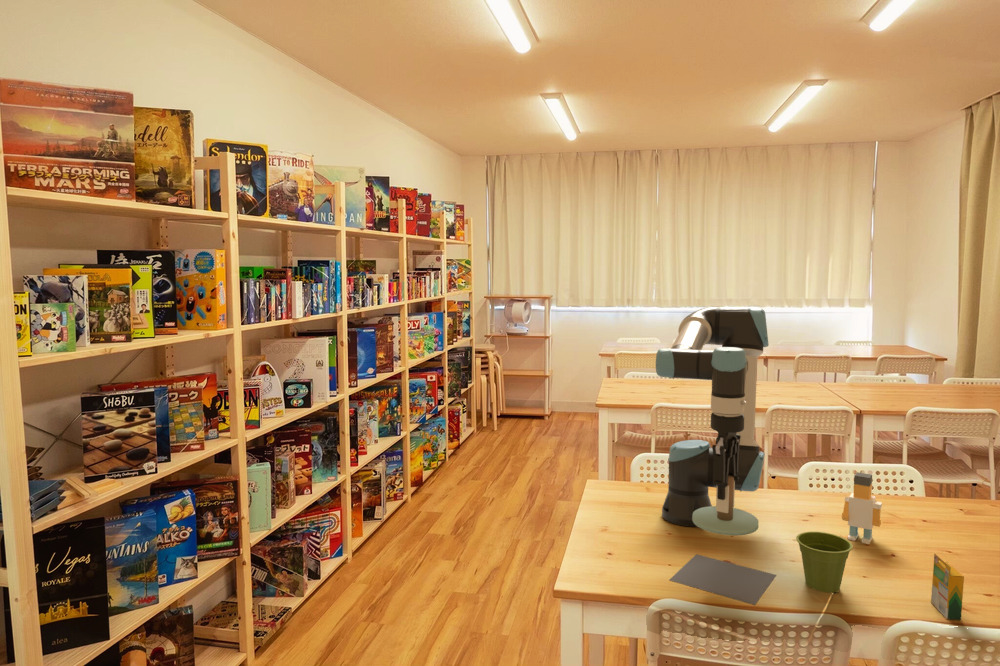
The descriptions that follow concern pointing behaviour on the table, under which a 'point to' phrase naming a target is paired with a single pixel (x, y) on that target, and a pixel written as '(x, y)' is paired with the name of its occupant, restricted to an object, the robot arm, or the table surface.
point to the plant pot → (823, 559)
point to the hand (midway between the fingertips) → (725, 508)
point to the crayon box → (947, 589)
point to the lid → (726, 518)
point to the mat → (724, 579)
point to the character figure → (862, 508)
